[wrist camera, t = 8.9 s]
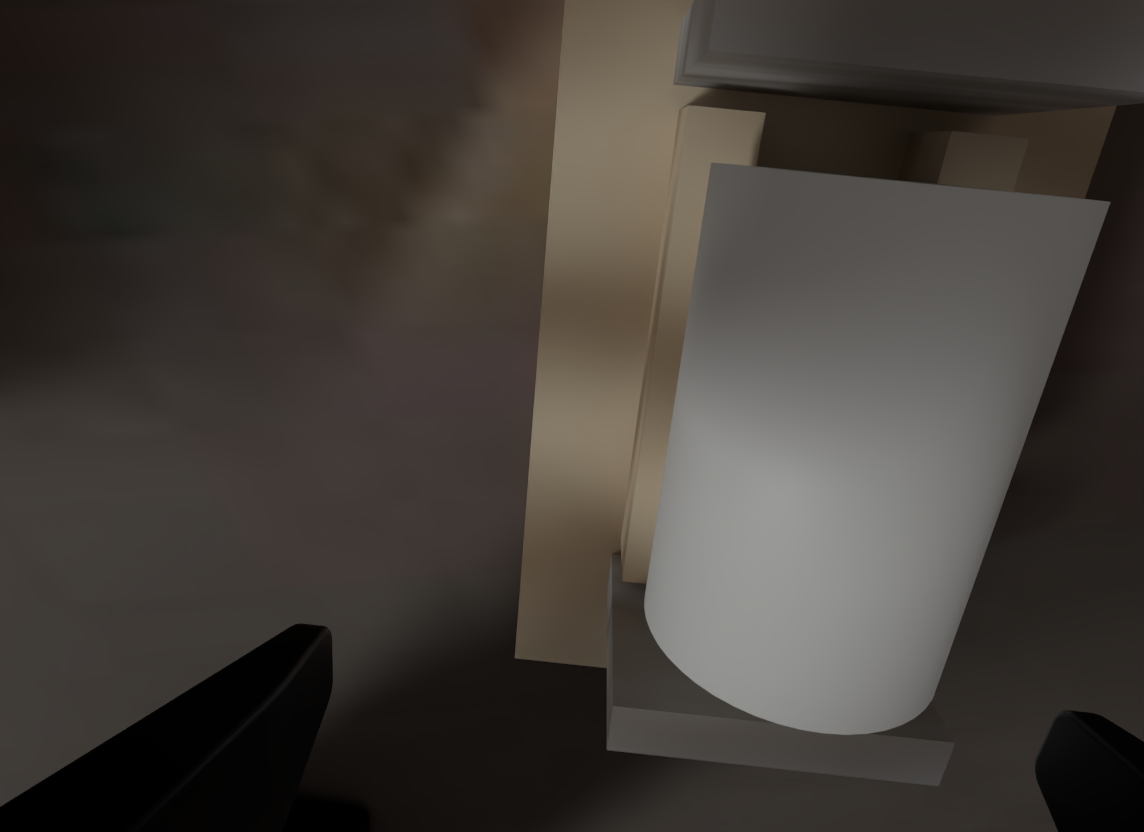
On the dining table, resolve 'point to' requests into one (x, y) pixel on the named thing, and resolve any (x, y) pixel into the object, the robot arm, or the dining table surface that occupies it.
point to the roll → (850, 431)
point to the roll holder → (668, 257)
